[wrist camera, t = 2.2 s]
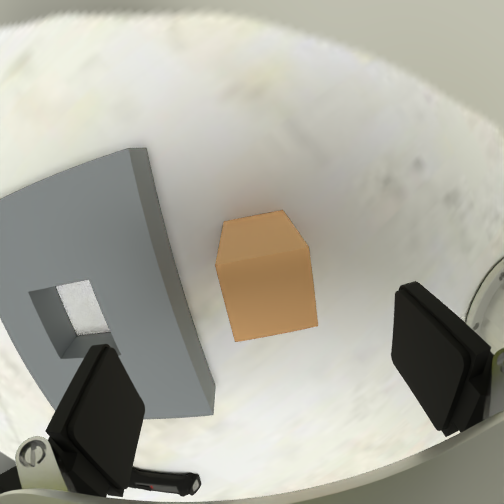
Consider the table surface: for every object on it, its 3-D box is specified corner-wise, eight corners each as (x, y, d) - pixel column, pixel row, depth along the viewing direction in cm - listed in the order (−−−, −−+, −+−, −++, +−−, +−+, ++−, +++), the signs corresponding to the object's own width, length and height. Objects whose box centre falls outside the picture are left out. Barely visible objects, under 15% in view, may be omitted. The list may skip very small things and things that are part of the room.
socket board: (146, 147, 19) (128, 148, 15) (215, 386, 25) (213, 414, 22) (-10, 208, 19) (-36, 218, 16) (71, 393, 25) (58, 415, 22)
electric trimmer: (87, 453, 30) (81, 470, 27) (198, 470, 31) (196, 490, 28) (96, 466, 31) (91, 483, 28) (201, 483, 32) (200, 502, 29)
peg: (282, 209, 20) (308, 247, 13) (291, 265, 22) (318, 325, 14) (223, 221, 21) (215, 265, 13) (235, 275, 22) (235, 341, 14)
